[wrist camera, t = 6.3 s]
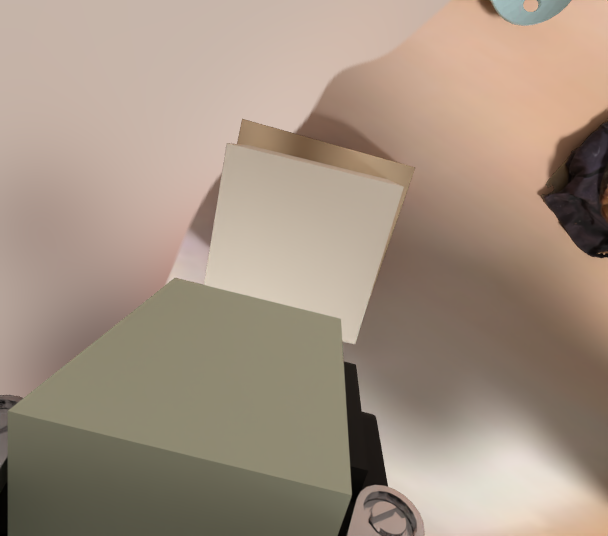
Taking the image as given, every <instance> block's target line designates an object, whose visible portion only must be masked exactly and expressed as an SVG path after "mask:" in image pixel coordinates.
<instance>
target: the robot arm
mask: <svg viewBox="0 0 608 536" xmlns="http://www.w3.org/2000/svg"><path fill="white" fill-rule="evenodd" d="M344 376H345V392H346V408H347V424H348V440H349V456H350V472H351V488H352V496H351V499H350V502H349V505H348V508H347V510H346V513H345V516H344V519H343V522H342V524H341V527H340V530H339V533H338V536H424V535H425V531H424V523H423V520H422V518H421V516H420V513H419V511H418V510H417V509H416V507H415V506H414V505H413V503H412V502H411V501H410V500H409V499H408V498H406V497H405V496H404V495H403V494H401V493H400V492H398V491H396V490H395V489H392V488H390V487H388V484H387V478H386V472H385V466H384V460H383V455H382V449H381V443H380V437H379V431H378V425H377V420H376V416H375V415H373V414H369V413H365V412H361V403H360V395H359V386H358V377H357V369H356V365H355V364H352V363H348V362H344ZM22 399H23V398H22V397H19V396H12V395H0V536H8V410H9V409H11V408H12V407H13V406H14V405H16V404H17V403H18V402H19V401H21V400H22Z"/></svg>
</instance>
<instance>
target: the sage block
mask: <svg viewBox="0 0 608 536" xmlns="http://www.w3.org/2000/svg"><path fill="white" fill-rule="evenodd" d="M351 496H352V488H351V472H350V456H349V440H348V424H347V408H346V392H345V376H344V360H343V344H342V328H341V319H340V318H336V317H332V316H328V315H324V314H320V313H316V312H312V311H308V310H304V309H300V308H296V307H291V306H287V305H283V304H279V303H275V302H271V301H267V300H263V299H259V298H255V297H251V296H247V295H243V294H239V293H235V292H231V291H227V290H223V289H218V288H214V287H210V286H206V285H202V284H198V283H194V282H190V281H186V280H182V279H178V278H174V279H173V280H172V281H170V282H169V283H168V284H167V285H165V286H164V287H163V288H162V289H160V290H159V291H158V292H157V293H155V294H154V295H153V296H151V297H150V298H149V299H148V300H146V301H145V302H144V303H143V304H142V305H140V306H139V307H138V308H136V309H135V310H134V311H133V312H131V313H130V314H129V315H128V316H126V317H125V318H124V319H123V320H122V321H120V322H119V323H118V324H116V325H115V326H114V327H112V328H111V329H110V330H109V331H108V332H106V333H105V334H104V335H102V336H101V337H100V338H99V339H97V340H96V341H95V342H94V343H92V345H90V346H89V347H87V348H86V349H85V350H84V351H82V352H81V353H80V354H79V355H77V356H76V357H75V358H74V359H72V360H71V361H70V362H68V364H66V365H65V366H64V367H62V368H61V369H60V370H59V371H57V372H56V373H55V374H53V375H52V376H51V377H50V378H48V379H47V380H46V381H45V382H43V383H42V384H41V385H40V386H38V387H37V388H36V389H35V390H33V391H32V392H31V393H30V394H28V395H27V396H26V397H25V398H23V399H22V400H21V401H19V402H18V403H17V404H16V405H14V406H13V407H12V408H11V409H9V410H8V536H338V533H339V530H340V527H341V524H342V522H343V519H344V516H345V513H346V510H347V508H348V505H349V502H350V499H351Z"/></svg>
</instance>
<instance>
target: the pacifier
mask: <svg viewBox="0 0 608 536" xmlns="http://www.w3.org/2000/svg"><path fill="white" fill-rule="evenodd" d="M490 1H491V2H492V5H493V7H494V9H495V10H496V12H497V13H498V14H499V16H501V17H502V18H503V19H504V20H506V21H508V22H510V23H512V24H515V25H521V26H528V25H535V24H538V23H541V22H544V21H546V20H548V19H550V18H552V17H554V16H555V15H557V14H558V13H560V12H561V11H562V10H563V9H564V8H565V7H566V6H567V5H568V4H569V3H570V1H571V0H537V1H538V4H539V5H538V9H537V10H536V11H534V12H527V11H526V10H525V9H524V7H523V3H524V1H525V0H490Z"/></svg>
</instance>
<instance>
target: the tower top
mask: <svg viewBox="0 0 608 536" xmlns="http://www.w3.org/2000/svg"><path fill="white" fill-rule="evenodd" d="M403 188H404V187H403V186H401V185H399V184H397V183H395V182H392V181H390V180H388V179H385V178H381V177H376V176H372V175H368V174H364V173H360V172H356V171H352V170H348V169H344V168H340V167H336V166H332V165H328V164H324V163H320V162H315V161H311V160H307V159H303V158H299V157H295V156H291V155H287V154H283V153H279V152H275V151H271V150H267V149H263V148H259V147H254V146H250V145H240V144H230V143H228V144H227V146H226V152H225V158H224V164H223V170H222V176H221V182H220V189H219V195H218V201H217V207H216V213H215V219H214V225H213V231H212V238H211V244H210V250H209V256H208V262H207V268H206V274H205V280H204V285H206V286H210V287H214V288H218V289H223V290H227V291H231V292H235V293H239V294H243V295H247V296H251V297H255V298H259V299H263V300H267V301H271V302H275V303H279V304H283V305H287V306H291V307H296V308H300V309H304V310H308V311H312V312H316V313H320V314H324V315H328V316H332V317H336V318H340V319H341V328H342V341H343V342H347V343H351V344H355V343H356V340H357V337H358V333H359V330H360V327H361V324H362V320H363V317H364V314H365V311H366V308H367V304H368V301H369V298H370V295H371V291H372V288H373V285H374V282H375V278H376V275H377V272H378V269H379V266H380V262H381V259H382V256H383V253H384V249H385V246H386V243H387V240H388V236H389V233H390V230H391V227H392V224H393V220H394V217H395V214H396V211H397V207H398V204H399V201H400V198H401V194H402V191H403Z"/></svg>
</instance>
